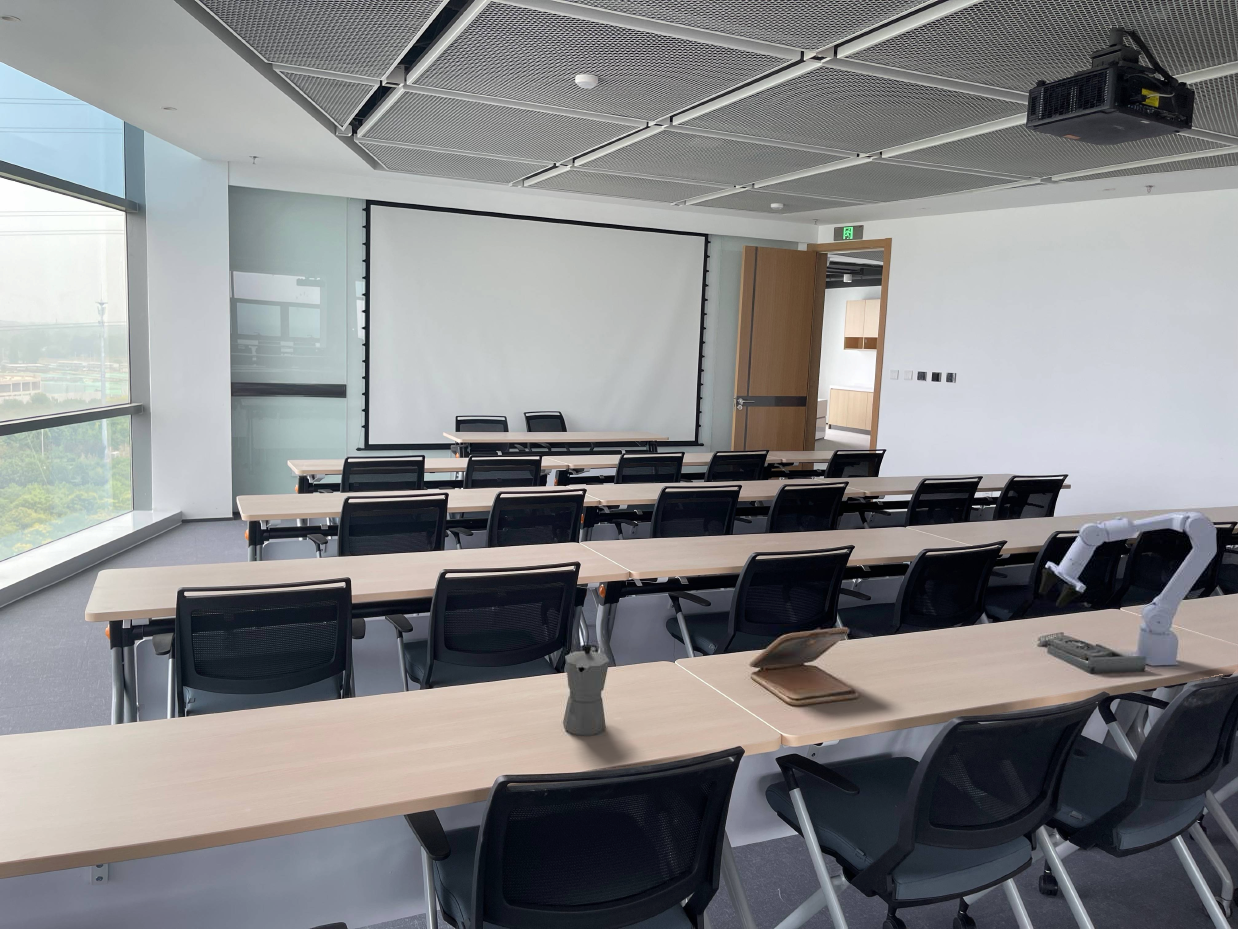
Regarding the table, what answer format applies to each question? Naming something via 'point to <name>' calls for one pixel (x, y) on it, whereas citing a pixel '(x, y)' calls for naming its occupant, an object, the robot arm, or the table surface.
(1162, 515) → the robot arm
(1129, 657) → the mounting bracket
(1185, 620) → the table surface
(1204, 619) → the table surface
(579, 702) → the coffeepot
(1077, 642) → the graphics card
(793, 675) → the case
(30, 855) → the table surface
